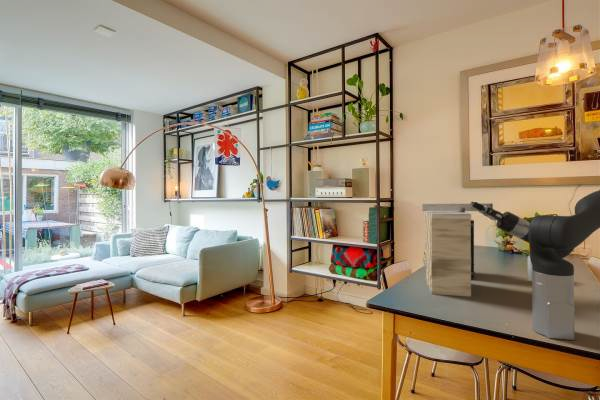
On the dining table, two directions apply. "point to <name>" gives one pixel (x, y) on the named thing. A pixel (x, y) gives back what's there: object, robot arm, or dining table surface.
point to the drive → (452, 207)
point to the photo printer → (529, 269)
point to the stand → (448, 252)
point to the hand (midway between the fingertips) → (472, 203)
